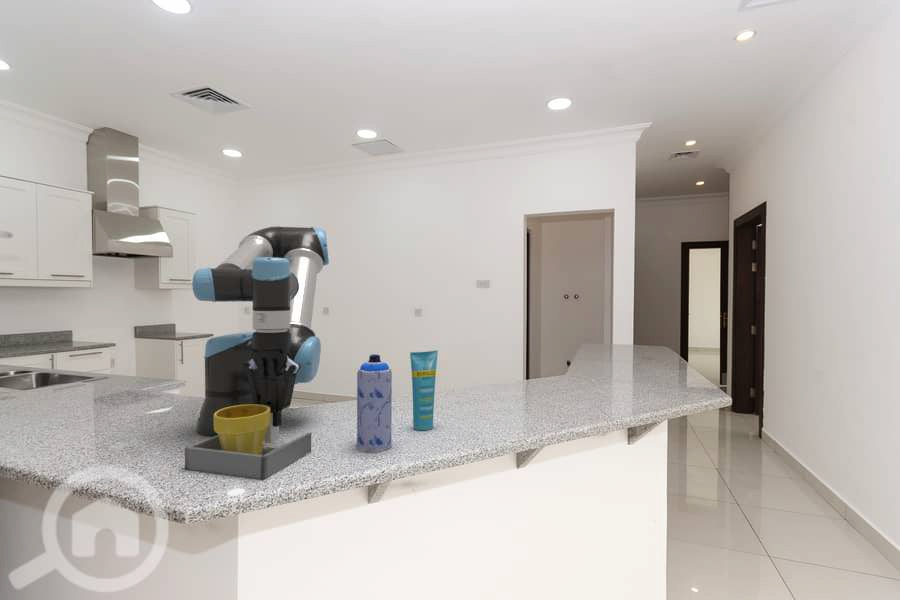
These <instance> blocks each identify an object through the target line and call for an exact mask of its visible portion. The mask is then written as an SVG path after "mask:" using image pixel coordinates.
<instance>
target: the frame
mask: <svg viewBox="0 0 900 600" xmlns="http://www.w3.org/2000/svg"><path fill="white" fill-rule="evenodd" d="M309 452H310V453H311V452H312V432H306V433H305V434H302V435H300V436H298V437H296V438H294V439H292V440H290V441H288V442H287V443H284V444H283V445H281V446H279V447H277V448H274V449H273V450H271V451H269V452H267V453H265V454H261V455H257V454H248V453H239V452H231V451H222V447H221V444H220V440H219V436H218V435H217V436H212V437H211V436H210V437H209V438H207V439H204V440H201V441H199V442H196V443H194V444H192V445H189V446H186V447H184V470H189V471H191V470H192V471H198V472H206V473H213V474H219V475H220V474H221V475H227V476H235V477H242V478H249V477H250V478H251V479H257V478H259V479H258V480H264V481H265V480H266V479H268V478H269V476H270V477H271V476H273V475H274V473H275V474H276V473H278V472H280V471H281V470H283V469H285V468H286V467H288V466H290V465H292V464H293V463H295V462H297V461H298V460H300V459H301V457H302V458H303V457H305V456H306V454H307V453H308V454H310V453H309ZM308 454H307V455H308ZM304 455H305V456H304ZM299 458H300V459H299ZM297 459H298V460H297ZM296 460H297V461H296ZM294 461H295V462H294ZM292 462H293V463H292ZM289 464H290V465H289ZM284 467H285V468H284ZM272 474H273V475H272ZM250 478H249V479H250Z"/></svg>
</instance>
